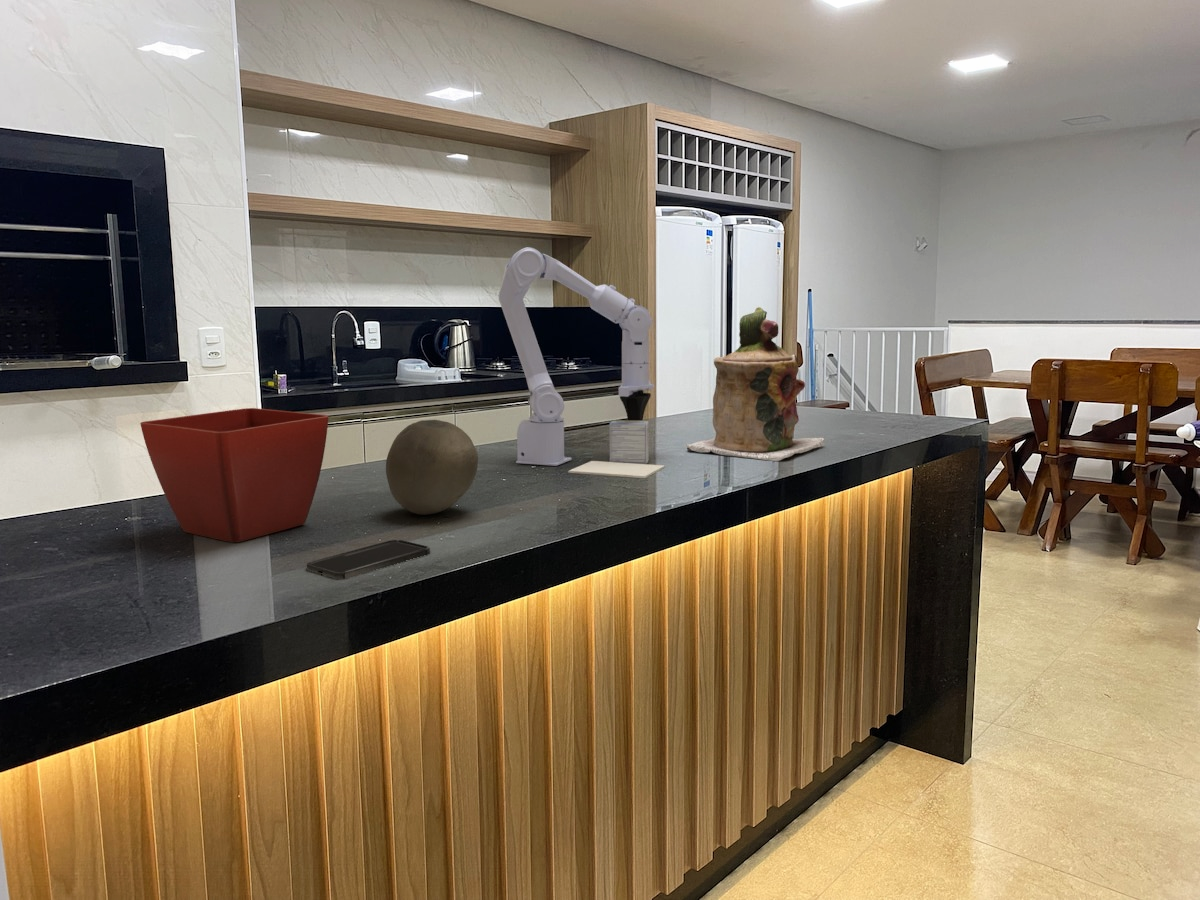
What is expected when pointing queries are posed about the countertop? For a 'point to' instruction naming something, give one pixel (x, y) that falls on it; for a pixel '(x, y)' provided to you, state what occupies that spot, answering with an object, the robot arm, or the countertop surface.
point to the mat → (617, 469)
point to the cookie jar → (756, 397)
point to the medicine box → (629, 441)
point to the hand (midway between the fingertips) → (635, 427)
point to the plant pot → (238, 469)
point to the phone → (367, 559)
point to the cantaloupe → (430, 466)
